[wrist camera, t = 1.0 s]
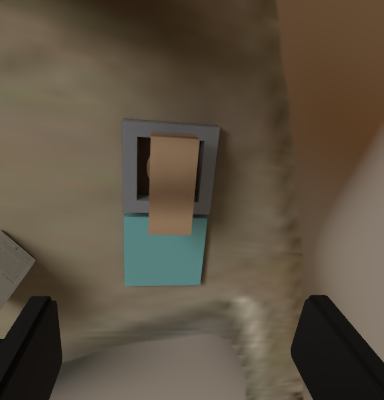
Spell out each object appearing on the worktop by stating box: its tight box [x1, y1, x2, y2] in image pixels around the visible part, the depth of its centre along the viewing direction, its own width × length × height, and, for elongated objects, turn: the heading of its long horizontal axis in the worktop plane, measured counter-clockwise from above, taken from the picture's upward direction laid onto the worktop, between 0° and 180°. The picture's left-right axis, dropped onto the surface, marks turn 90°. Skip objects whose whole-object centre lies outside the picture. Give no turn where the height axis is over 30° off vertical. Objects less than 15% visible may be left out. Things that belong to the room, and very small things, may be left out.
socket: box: [122, 119, 220, 215], centre depth 30 cm, size 10×10×2 cm
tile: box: [124, 213, 208, 286], centre depth 34 cm, size 10×10×1 cm
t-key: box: [147, 132, 200, 235], centre depth 27 cm, size 9×5×8 cm, turn 175°
